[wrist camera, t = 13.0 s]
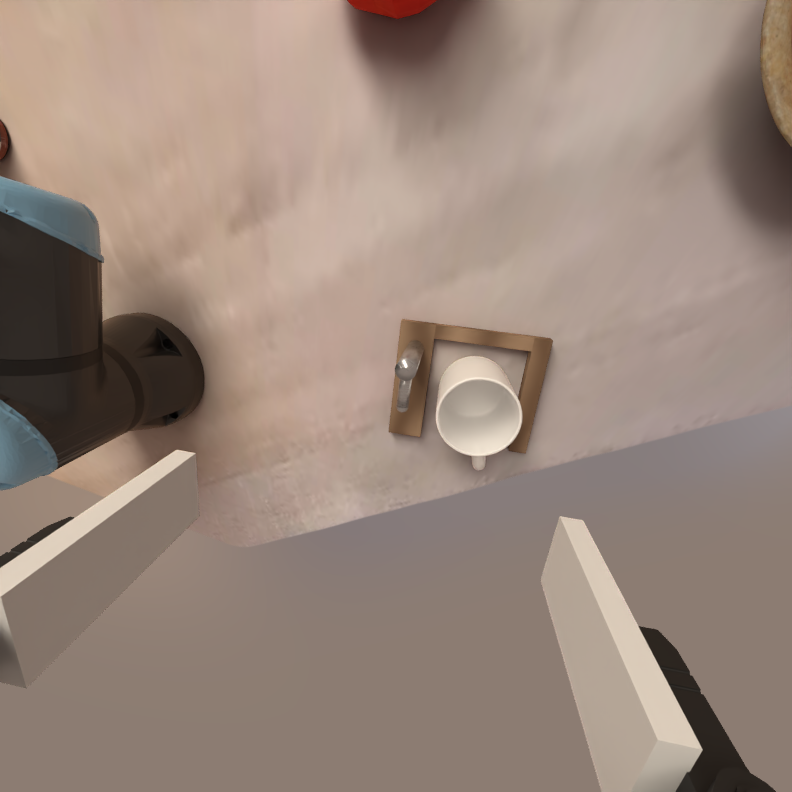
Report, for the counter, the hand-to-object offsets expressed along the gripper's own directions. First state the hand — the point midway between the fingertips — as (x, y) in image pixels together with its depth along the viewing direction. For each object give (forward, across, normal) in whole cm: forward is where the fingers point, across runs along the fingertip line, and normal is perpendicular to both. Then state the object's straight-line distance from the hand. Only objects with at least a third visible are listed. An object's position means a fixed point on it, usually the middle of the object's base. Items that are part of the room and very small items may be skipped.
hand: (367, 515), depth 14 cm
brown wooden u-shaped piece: (+34, +6, -5) cm, 35 cm away
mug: (+35, +7, -7) cm, 36 cm away
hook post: (+33, -1, -3) cm, 33 cm away
